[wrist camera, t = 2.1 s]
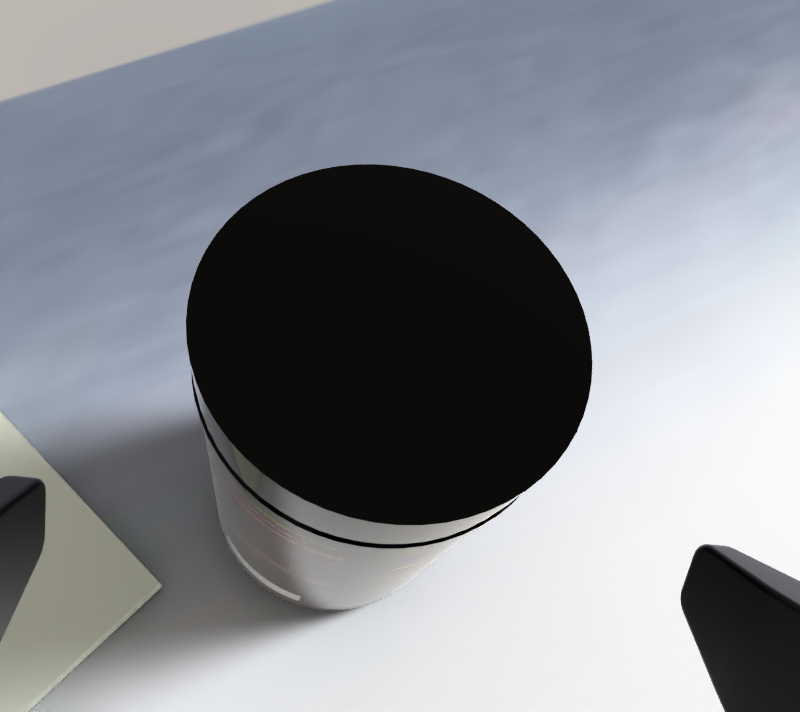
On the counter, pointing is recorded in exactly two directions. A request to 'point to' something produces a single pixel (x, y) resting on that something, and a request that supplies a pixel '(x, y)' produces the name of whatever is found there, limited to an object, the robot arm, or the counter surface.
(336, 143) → the counter surface
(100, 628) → the mat
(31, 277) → the counter surface
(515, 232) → the supplement container
